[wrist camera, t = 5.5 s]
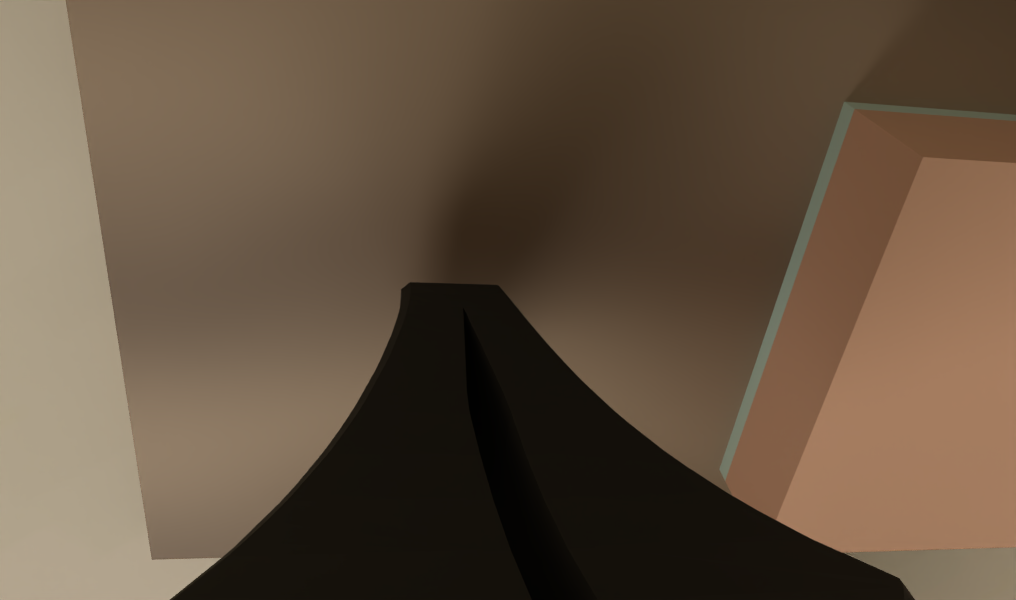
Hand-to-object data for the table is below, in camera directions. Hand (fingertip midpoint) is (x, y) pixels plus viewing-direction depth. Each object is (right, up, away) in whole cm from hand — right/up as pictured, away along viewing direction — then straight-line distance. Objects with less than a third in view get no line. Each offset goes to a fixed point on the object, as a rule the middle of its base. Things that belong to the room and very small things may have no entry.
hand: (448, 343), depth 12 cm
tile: (+5, 0, +1) cm, 5 cm away
